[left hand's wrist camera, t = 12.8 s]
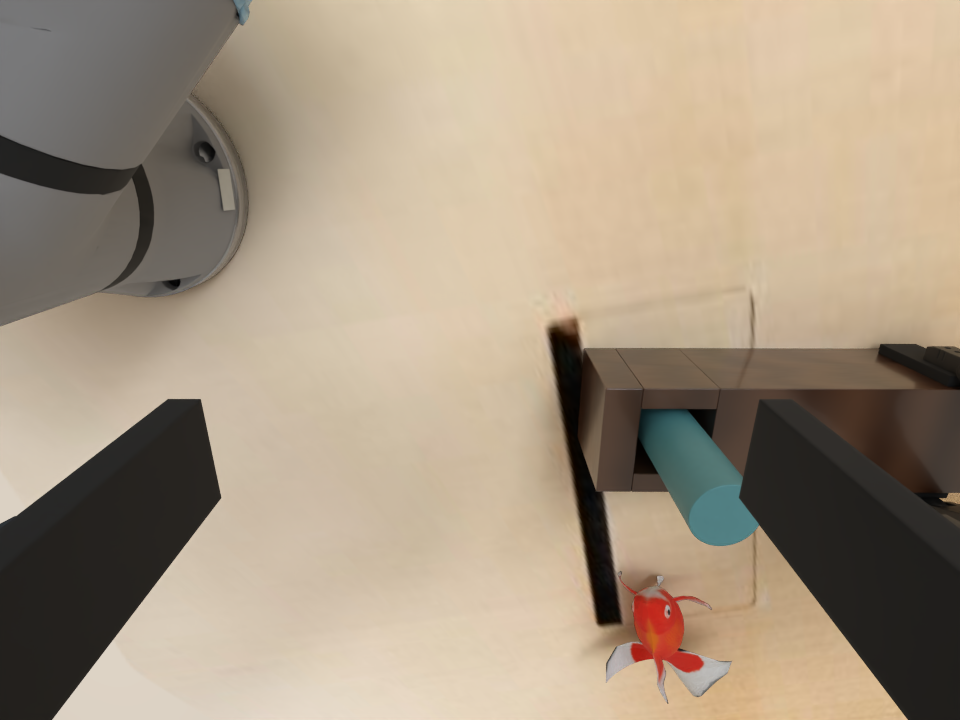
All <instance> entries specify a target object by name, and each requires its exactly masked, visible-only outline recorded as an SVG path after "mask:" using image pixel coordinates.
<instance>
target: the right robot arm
mask: <svg viewBox="0 0 960 720" xmlns="http://www.w3.org/2000/svg"><path fill="white" fill-rule="evenodd" d="M878 353H879V354H881V355H883V356H885V357H887V358H889V359H891V360H893V361H895V362H897V363H899V364H902V365H904V366H906V367H908V368H910V369H912V370H914V371H916V372H918V373H920V374H922V375H924V376H926V377H928V378H930V379H933V380H935V381H937V382H939V383H941V384H943V385H945V386H947V387H960V349H959V348H956V347H942V346H933V347H927V349H926V348H924V347H921V346H919V345H917V344H881V345H880V348H879V352H878ZM914 494H916V495H917V496H918V497H919V498H921V499H922V500H923V501H925V502H926V503H927V504H928V505H930V506H931V507H932V508H934V509H935V510H936V511H938V512H939V513H940V514H946V515H948V516H950V517H952V518H954V519H956V520H958V521H960V504H957V503H952V502H943V501H942V500H941V499H939V498H947V496H948V493H914Z"/></svg>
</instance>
